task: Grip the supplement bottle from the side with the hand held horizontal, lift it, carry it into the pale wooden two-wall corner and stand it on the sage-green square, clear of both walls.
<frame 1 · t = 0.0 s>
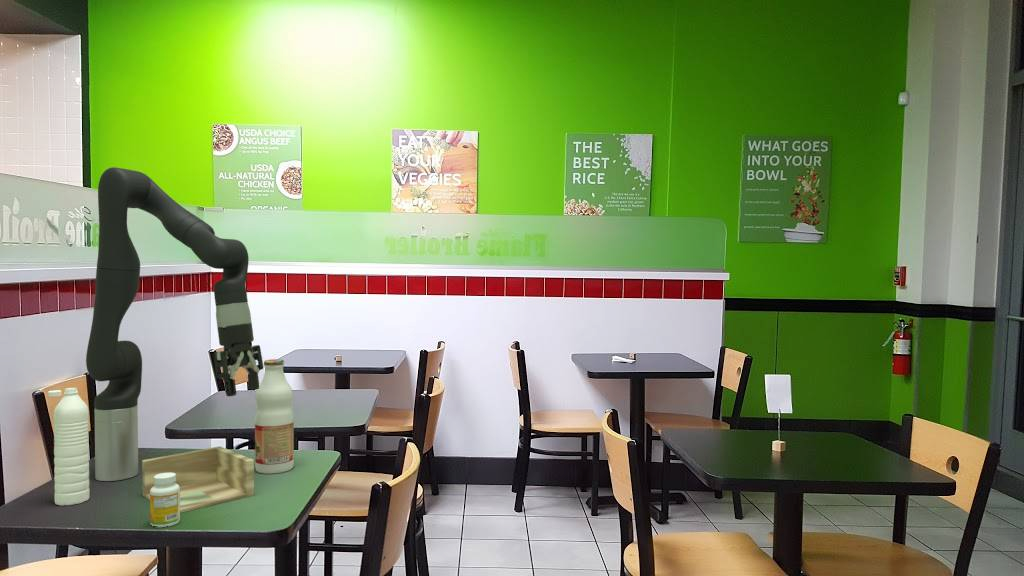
hand: (243, 392, 163), 22 cm above the table, fingers open, 8 cm apart
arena: (196, 496, 157), on the table
fruit juice: (274, 469, 179), on the table
supplement bottle: (165, 524, 140), on the table
water bottle: (68, 503, 152), on the table
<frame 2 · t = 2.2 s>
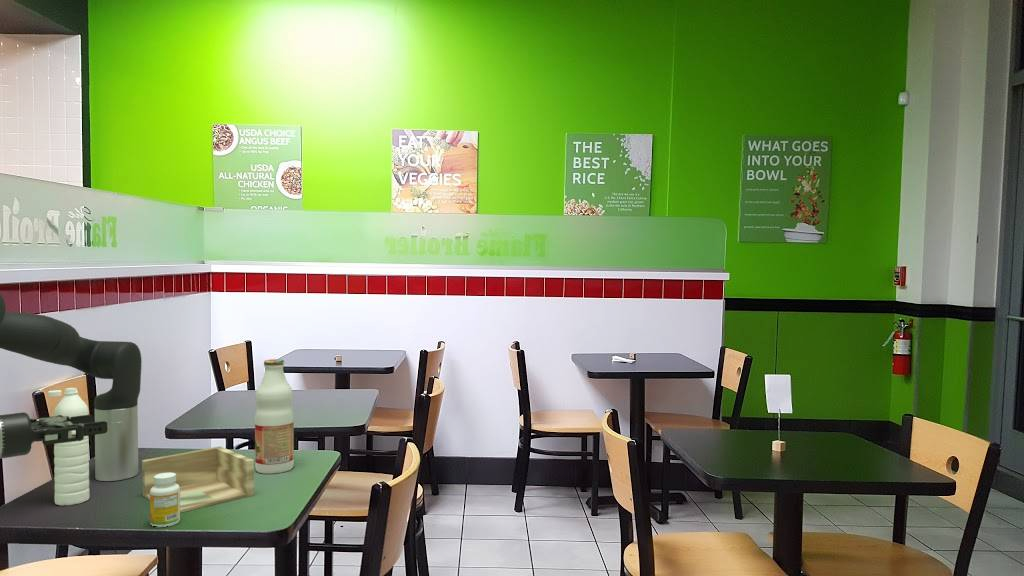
hand: (99, 423, 133), 22 cm above the table, fingers open, 8 cm apart
nothing on the table moved.
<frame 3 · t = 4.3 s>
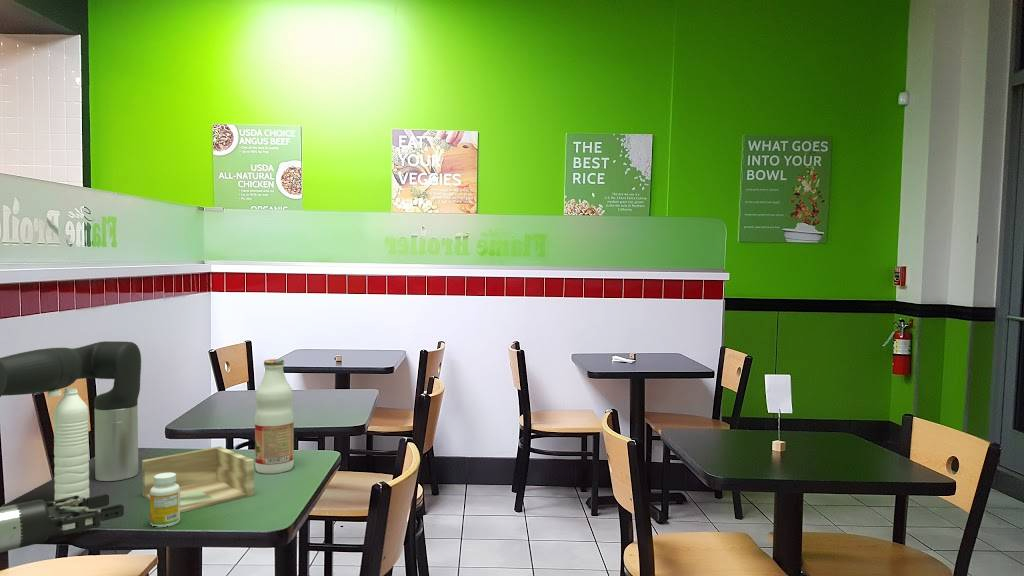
hand: (115, 504, 134), 6 cm above the table, fingers open, 8 cm apart
nothing on the table moved.
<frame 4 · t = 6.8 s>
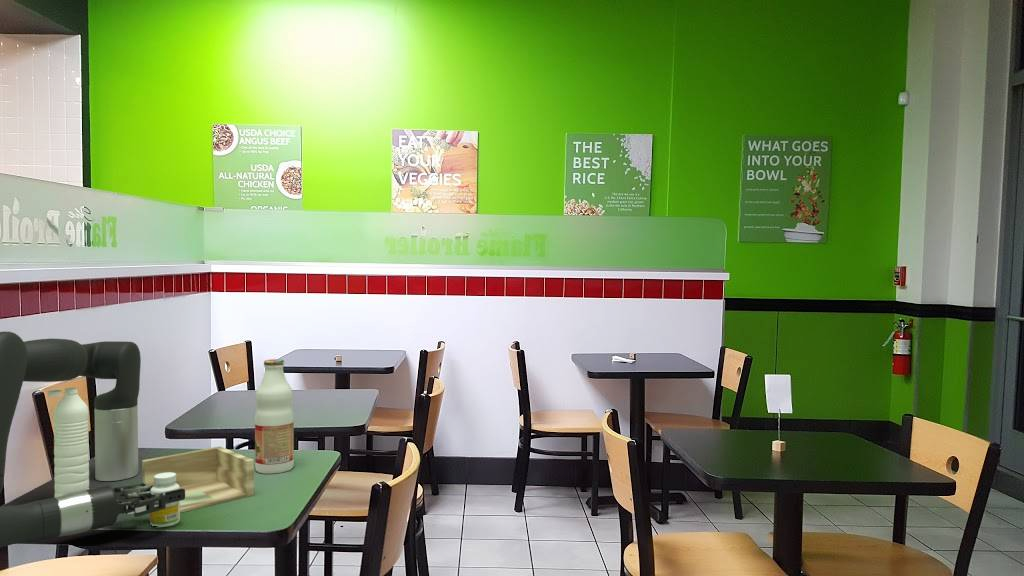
hand: (178, 490, 142), 6 cm above the table, fingers closed on supplement bottle, 5 cm apart
supplement bottle: (165, 524, 140), on the table, touching gripper
everything else where it was.
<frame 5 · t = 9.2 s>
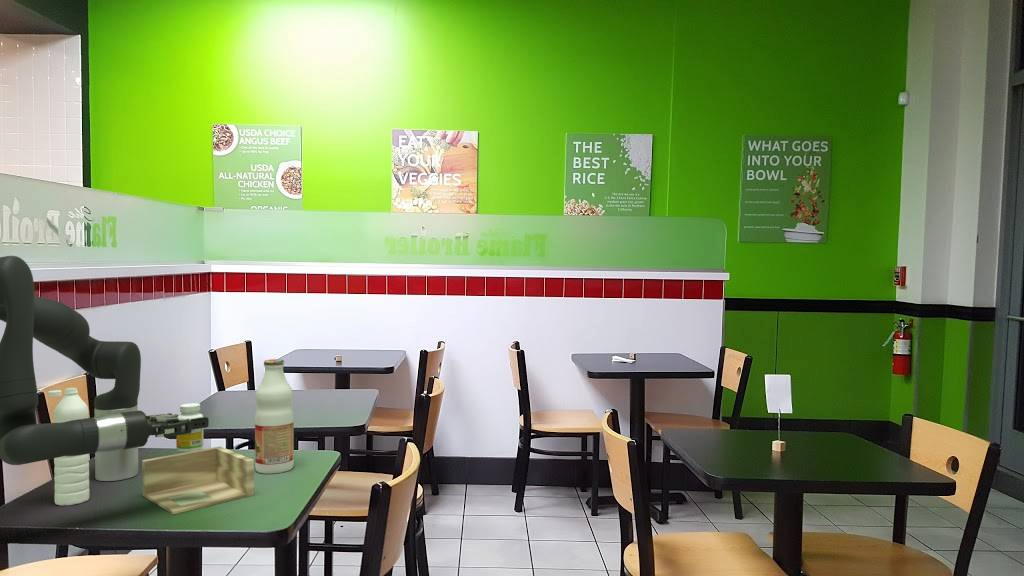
hand: (201, 419, 155), 18 cm above the table, fingers closed on supplement bottle, 5 cm apart
supplement bottle: (190, 449, 153), point 11 cm above the table, touching gripper
everything else where it was.
when the fingers open (7 cm above the table, at t = 11.6 s): supplement bottle stays where it is, resting on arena.
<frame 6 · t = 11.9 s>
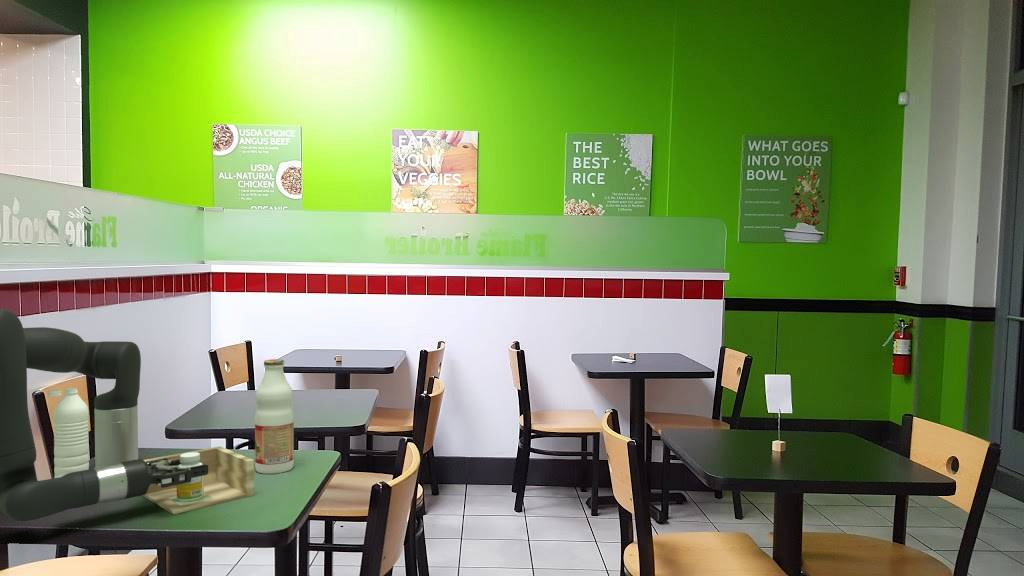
hand: (199, 465, 155), 7 cm above the table, fingers open, 8 cm apart
supplement bottle: (190, 499, 154), resting on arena
everything else where it was.
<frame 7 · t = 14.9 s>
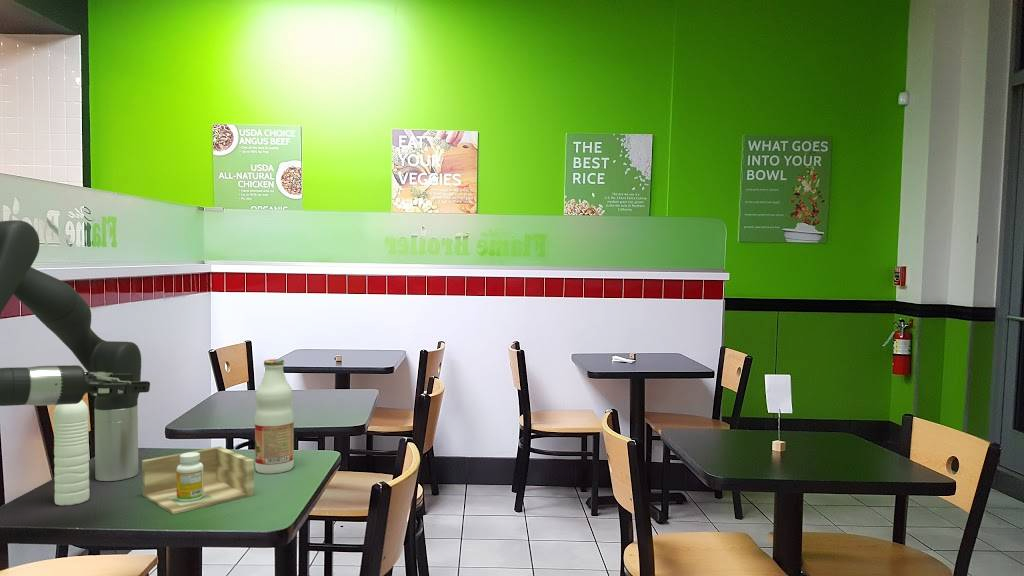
hand: (140, 382, 147), 27 cm above the table, fingers open, 8 cm apart
nothing on the table moved.
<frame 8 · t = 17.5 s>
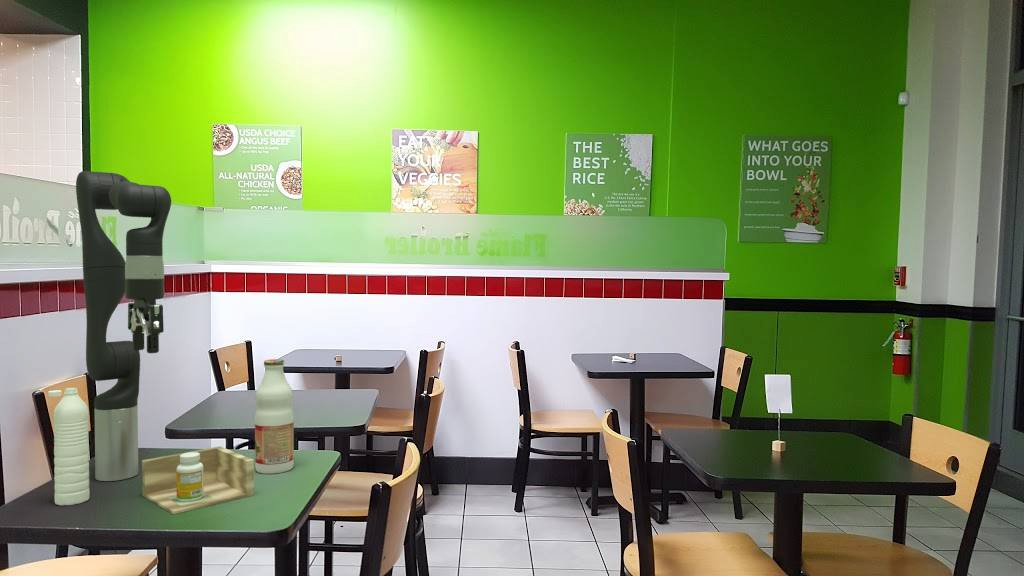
hand: (145, 351, 152), 33 cm above the table, fingers open, 8 cm apart
nothing on the table moved.
at the end: supplement bottle inside the target area on the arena (0.8 cm from its centre), point 0.4 cm above the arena's base; supplement bottle tilted 0°; the gripper is holding nothing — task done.
